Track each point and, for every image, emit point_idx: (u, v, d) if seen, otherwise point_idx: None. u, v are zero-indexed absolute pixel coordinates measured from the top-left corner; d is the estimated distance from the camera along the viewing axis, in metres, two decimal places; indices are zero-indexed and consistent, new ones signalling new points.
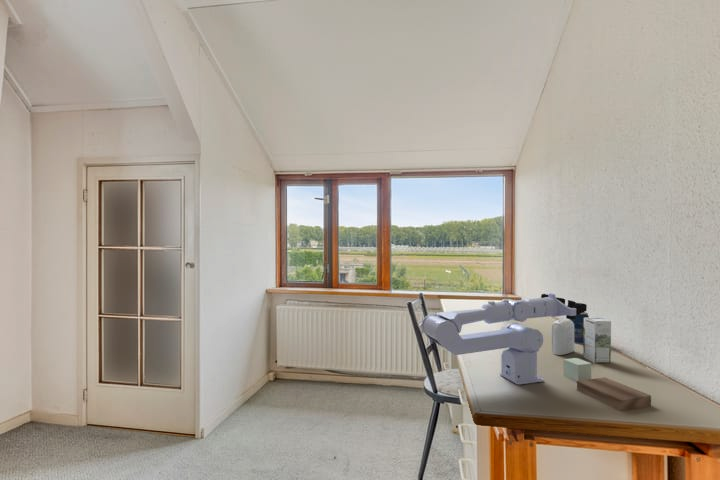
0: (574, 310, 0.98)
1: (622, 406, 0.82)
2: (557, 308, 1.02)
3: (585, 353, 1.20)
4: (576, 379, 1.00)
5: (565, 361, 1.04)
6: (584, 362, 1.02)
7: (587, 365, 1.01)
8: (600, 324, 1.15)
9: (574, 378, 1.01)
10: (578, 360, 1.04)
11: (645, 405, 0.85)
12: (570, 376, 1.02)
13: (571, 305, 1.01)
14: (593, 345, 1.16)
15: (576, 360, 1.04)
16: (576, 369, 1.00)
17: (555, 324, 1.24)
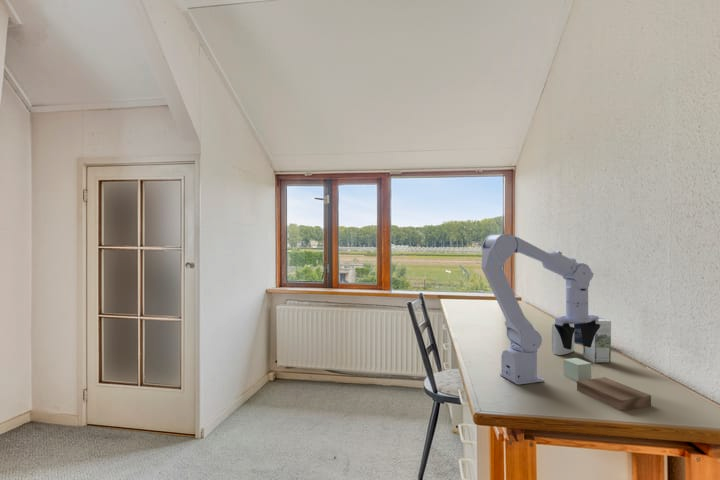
0: (559, 323, 1.00)
1: (622, 406, 0.82)
2: (570, 316, 1.02)
3: (585, 353, 1.20)
4: (576, 379, 1.00)
5: (565, 361, 1.04)
6: (584, 362, 1.02)
7: (587, 365, 1.01)
8: (600, 324, 1.15)
9: (574, 378, 1.01)
10: (578, 360, 1.04)
11: (645, 405, 0.85)
12: (570, 376, 1.02)
13: (567, 327, 1.00)
14: (593, 345, 1.16)
15: (576, 359, 1.04)
16: (576, 369, 1.00)
17: None
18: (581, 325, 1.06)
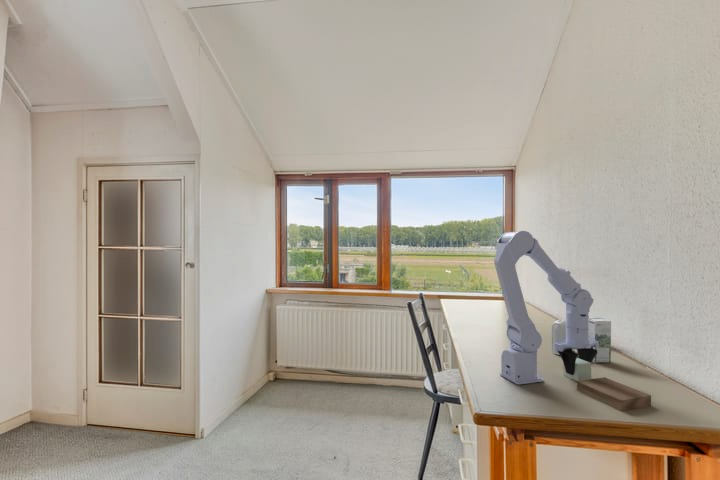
0: (559, 348, 1.00)
1: (622, 406, 0.82)
2: (570, 341, 1.02)
3: None
4: (576, 379, 1.00)
5: None
6: (584, 362, 1.02)
7: (587, 365, 1.01)
8: (600, 324, 1.15)
9: (574, 378, 1.01)
10: (578, 359, 1.04)
11: (645, 405, 0.85)
12: (570, 376, 1.02)
13: (570, 352, 1.00)
14: None
15: (576, 359, 1.04)
16: (576, 369, 1.00)
17: (555, 324, 1.24)
18: (578, 350, 1.05)
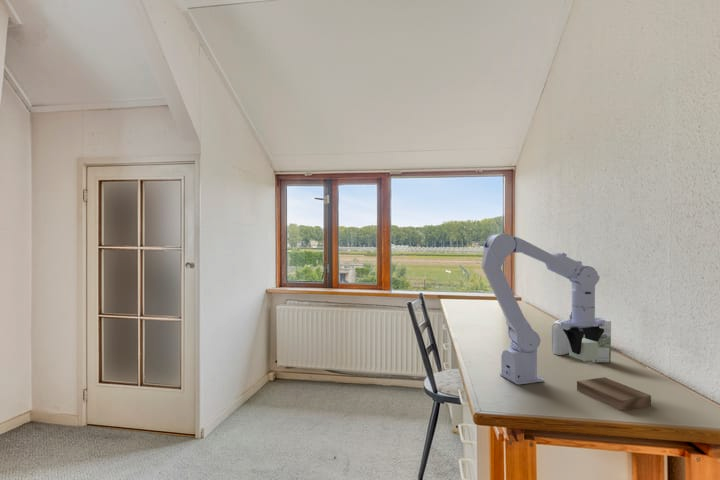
0: (565, 327, 0.98)
1: (622, 406, 0.82)
2: (576, 320, 0.99)
3: None
4: (582, 358, 0.98)
5: None
6: (590, 341, 0.99)
7: (593, 344, 0.98)
8: None
9: (580, 357, 0.98)
10: (584, 339, 1.01)
11: (645, 405, 0.85)
12: (576, 355, 1.00)
13: (576, 331, 0.98)
14: None
15: None
16: (582, 348, 0.98)
17: (555, 324, 1.24)
18: (584, 329, 1.03)
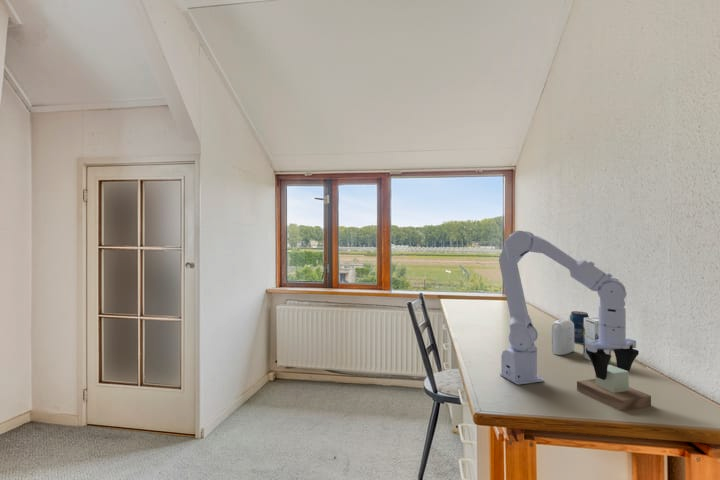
0: (592, 349, 0.87)
1: (622, 406, 0.82)
2: (604, 341, 0.89)
3: (585, 353, 1.20)
4: (611, 390, 0.87)
5: None
6: (620, 370, 0.89)
7: (624, 373, 0.88)
8: None
9: (609, 388, 0.88)
10: (612, 367, 0.91)
11: (645, 406, 0.85)
12: (604, 386, 0.89)
13: (602, 354, 0.87)
14: None
15: (610, 367, 0.91)
16: (611, 378, 0.87)
17: (555, 324, 1.24)
18: (616, 350, 0.92)
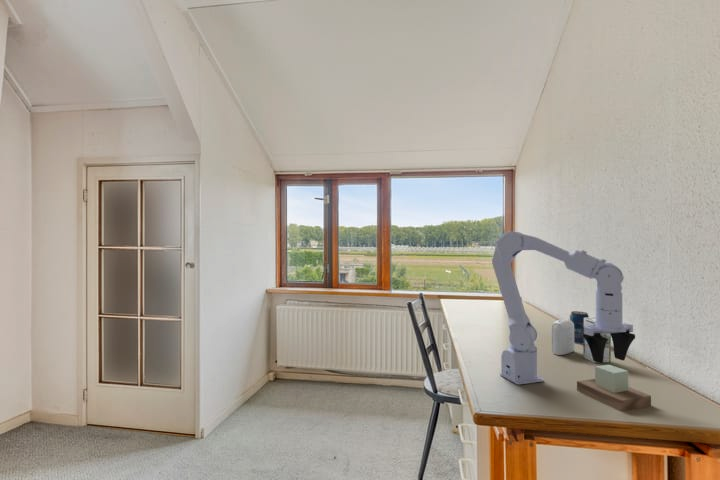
0: (589, 332, 0.88)
1: (622, 406, 0.82)
2: (601, 325, 0.90)
3: (585, 353, 1.20)
4: (611, 390, 0.87)
5: (597, 368, 0.91)
6: (620, 370, 0.89)
7: (624, 373, 0.88)
8: None
9: (609, 388, 0.88)
10: (612, 367, 0.91)
11: (645, 406, 0.85)
12: (604, 386, 0.89)
13: (598, 337, 0.88)
14: None
15: (609, 367, 0.91)
16: (612, 378, 0.87)
17: (555, 324, 1.24)
18: (613, 335, 0.93)
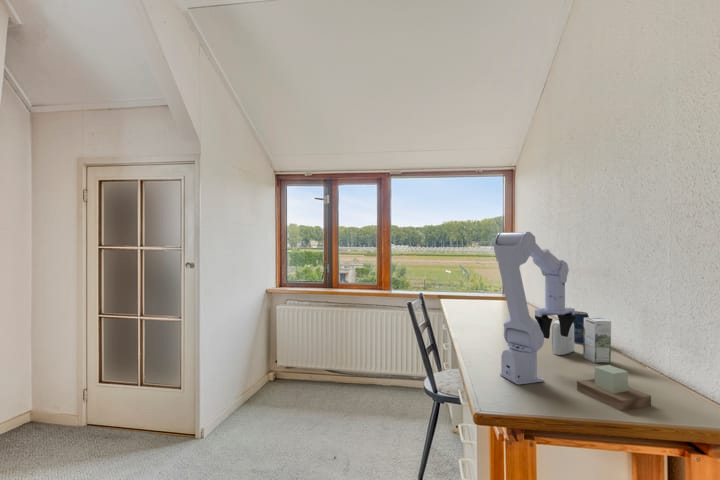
0: (538, 314, 1.11)
1: (622, 406, 0.82)
2: (548, 308, 1.12)
3: (585, 353, 1.20)
4: (610, 390, 0.87)
5: (597, 369, 0.91)
6: (619, 370, 0.89)
7: (623, 374, 0.87)
8: (600, 324, 1.15)
9: (608, 389, 0.88)
10: (611, 367, 0.90)
11: (645, 406, 0.85)
12: (603, 386, 0.89)
13: (545, 318, 1.10)
14: (594, 345, 1.16)
15: (609, 367, 0.91)
16: (611, 379, 0.87)
17: (555, 324, 1.24)
18: (559, 317, 1.16)
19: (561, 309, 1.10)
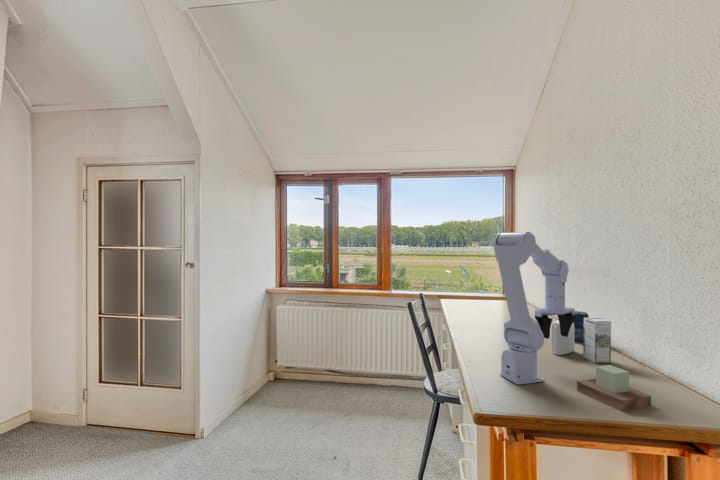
0: (538, 314, 1.11)
1: (622, 406, 0.82)
2: (548, 308, 1.12)
3: (585, 353, 1.20)
4: (612, 390, 0.87)
5: (598, 369, 0.91)
6: (621, 370, 0.89)
7: (625, 374, 0.87)
8: (600, 324, 1.15)
9: (609, 389, 0.88)
10: (613, 367, 0.90)
11: (645, 406, 0.85)
12: (604, 386, 0.89)
13: (545, 318, 1.10)
14: (594, 345, 1.16)
15: (610, 367, 0.91)
16: (612, 379, 0.87)
17: (555, 324, 1.24)
18: (559, 317, 1.16)
19: (561, 309, 1.10)
